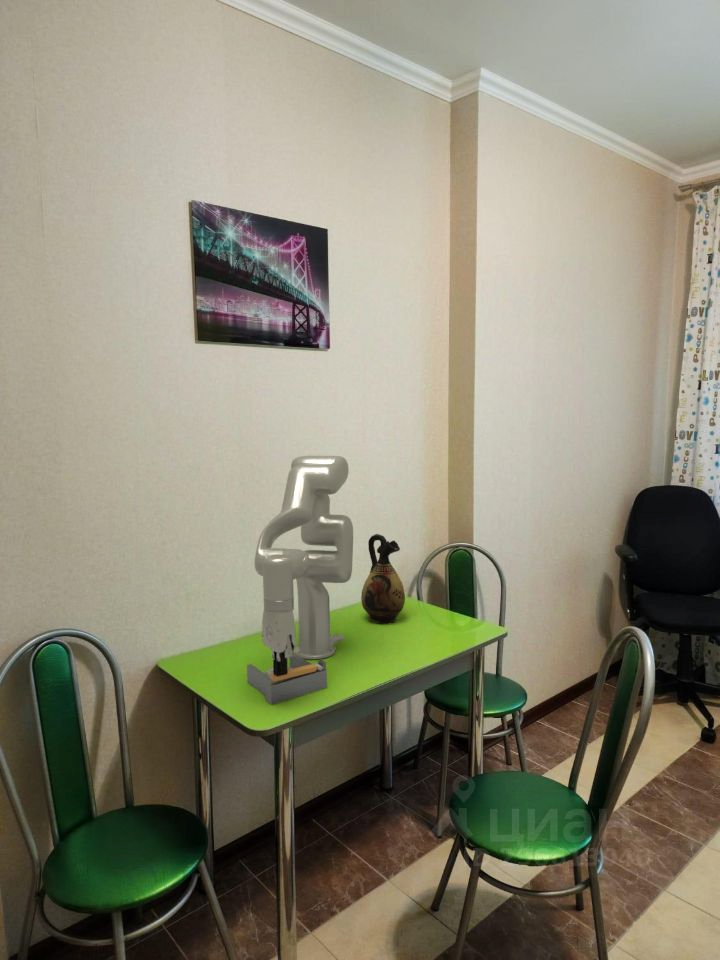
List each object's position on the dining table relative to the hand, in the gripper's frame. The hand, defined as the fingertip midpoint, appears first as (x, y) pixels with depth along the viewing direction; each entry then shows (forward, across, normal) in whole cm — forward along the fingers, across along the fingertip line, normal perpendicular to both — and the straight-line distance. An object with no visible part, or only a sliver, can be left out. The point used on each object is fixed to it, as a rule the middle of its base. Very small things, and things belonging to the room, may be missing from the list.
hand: (280, 674), depth 163 cm
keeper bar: (+1, 0, +5) cm, 5 cm away
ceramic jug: (+6, -34, +59) cm, 69 cm away
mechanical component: (+7, -8, +4) cm, 11 cm away
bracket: (+7, -7, +5) cm, 11 cm away
